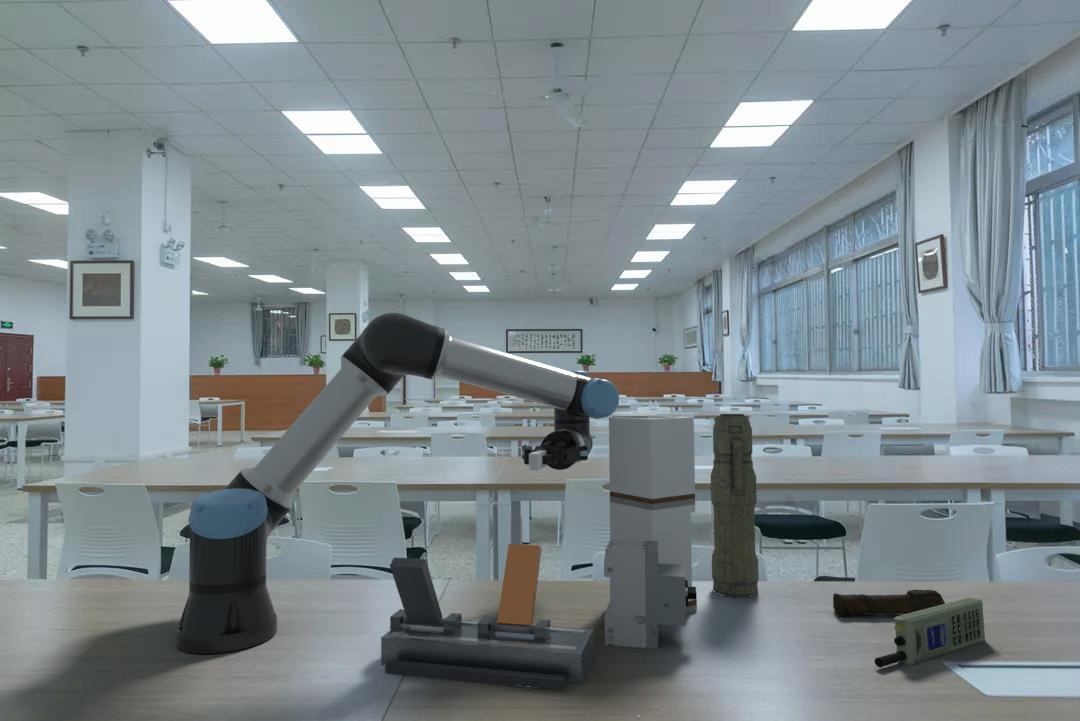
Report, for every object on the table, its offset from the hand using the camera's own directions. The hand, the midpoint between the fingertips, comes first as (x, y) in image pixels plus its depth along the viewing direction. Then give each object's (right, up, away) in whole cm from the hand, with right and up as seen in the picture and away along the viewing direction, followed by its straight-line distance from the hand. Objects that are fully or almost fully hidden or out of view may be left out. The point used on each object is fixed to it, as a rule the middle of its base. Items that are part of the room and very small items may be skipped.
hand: (533, 461), depth 115 cm
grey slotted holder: (-7, -28, -11) cm, 31 cm away
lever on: (-16, -23, -9) cm, 30 cm away
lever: (-3, -23, -12) cm, 26 cm away
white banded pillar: (+22, -29, +13) cm, 38 cm away
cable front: (-8, -28, -18) cm, 34 cm away
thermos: (+40, -29, +23) cm, 54 cm away
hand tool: (+63, -29, +8) cm, 70 cm away
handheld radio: (+60, -28, -10) cm, 67 cm away
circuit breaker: (+19, -28, -3) cm, 34 cm away
